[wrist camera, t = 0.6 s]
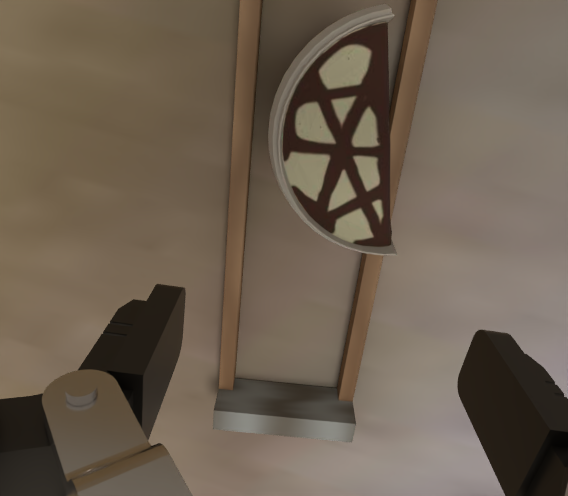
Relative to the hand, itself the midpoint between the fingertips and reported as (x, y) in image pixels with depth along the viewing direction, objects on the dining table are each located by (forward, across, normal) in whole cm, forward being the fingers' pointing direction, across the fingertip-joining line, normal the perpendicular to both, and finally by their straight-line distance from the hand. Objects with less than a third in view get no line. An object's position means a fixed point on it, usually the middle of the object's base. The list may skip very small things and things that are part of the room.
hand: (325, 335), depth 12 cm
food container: (+21, 0, -3) cm, 22 cm away
